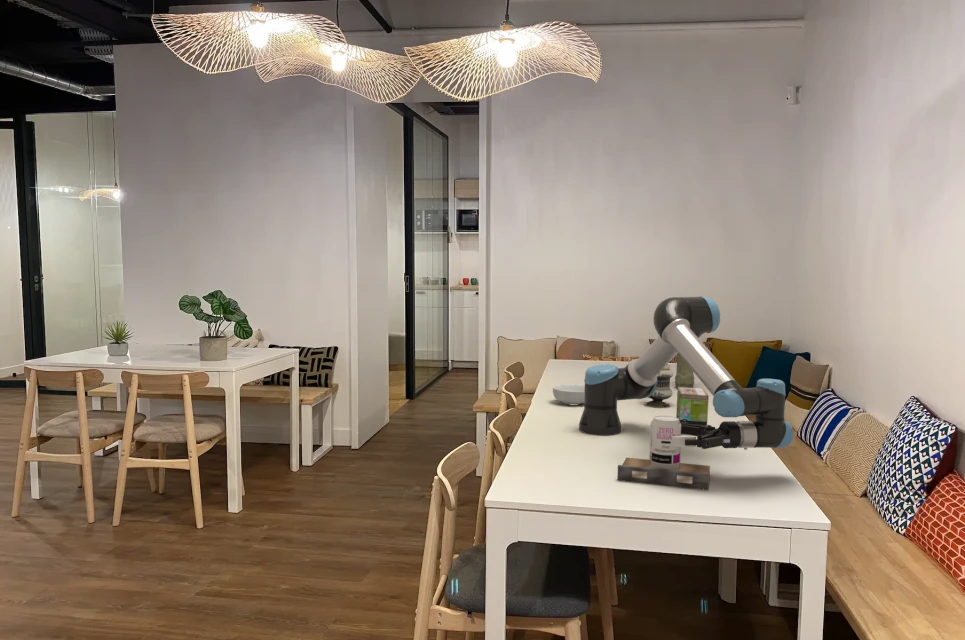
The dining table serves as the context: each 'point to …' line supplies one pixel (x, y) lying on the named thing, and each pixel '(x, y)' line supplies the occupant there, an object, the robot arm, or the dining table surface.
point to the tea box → (692, 406)
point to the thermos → (683, 374)
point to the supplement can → (664, 443)
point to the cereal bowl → (569, 393)
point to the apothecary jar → (662, 388)
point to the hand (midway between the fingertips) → (663, 435)
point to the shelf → (664, 474)
